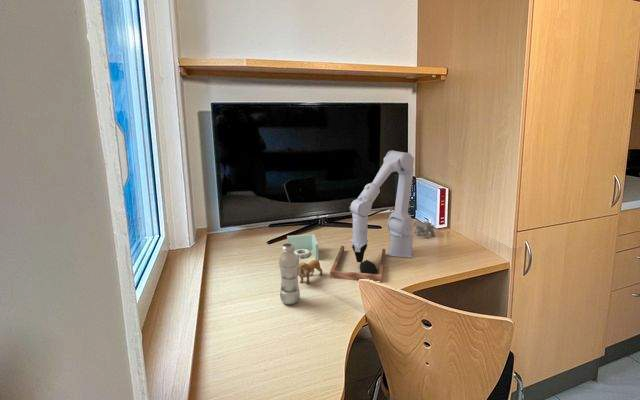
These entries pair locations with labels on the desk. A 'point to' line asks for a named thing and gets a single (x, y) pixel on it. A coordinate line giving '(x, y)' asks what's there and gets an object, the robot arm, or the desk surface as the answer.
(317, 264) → the lion figurine
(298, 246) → the l-shaped corner panel
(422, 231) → the gray elephant figurine
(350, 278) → the u-shaped frame
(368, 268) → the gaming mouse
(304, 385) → the desk surface
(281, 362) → the desk surface
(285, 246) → the plastic bottle
